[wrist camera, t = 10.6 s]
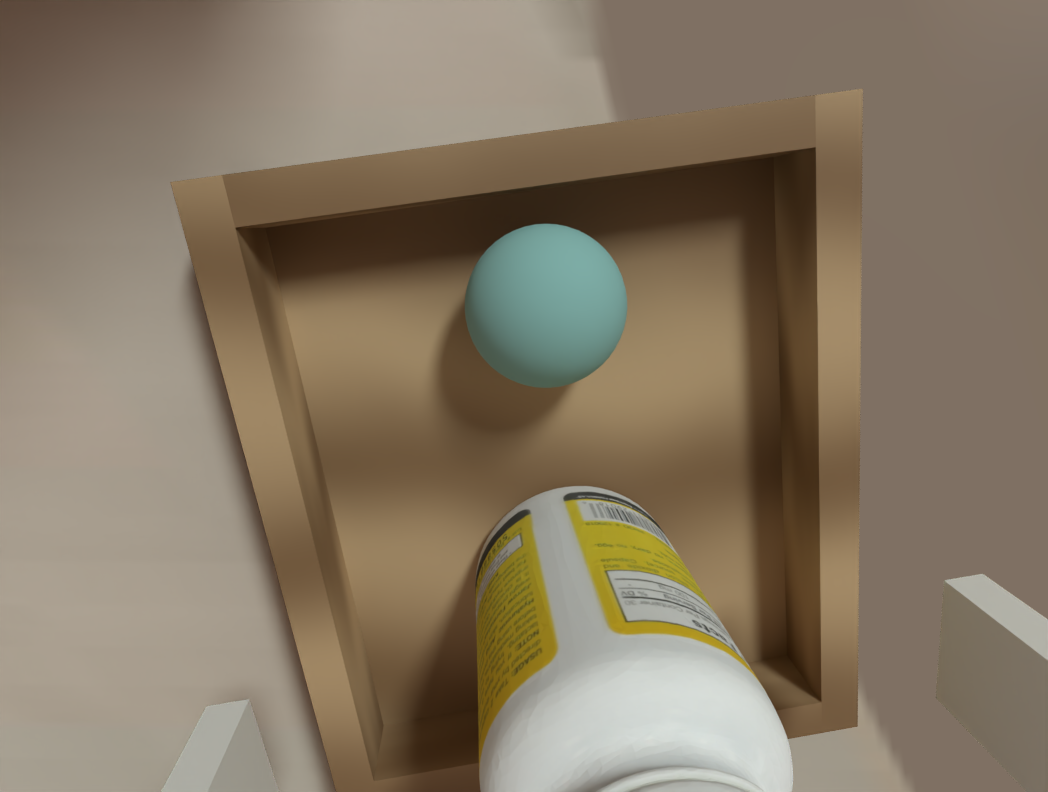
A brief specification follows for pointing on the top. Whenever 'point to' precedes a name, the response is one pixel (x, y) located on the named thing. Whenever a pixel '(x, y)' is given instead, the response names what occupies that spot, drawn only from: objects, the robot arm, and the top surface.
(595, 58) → the top surface
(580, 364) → the ball
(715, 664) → the supplement bottle
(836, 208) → the tray
